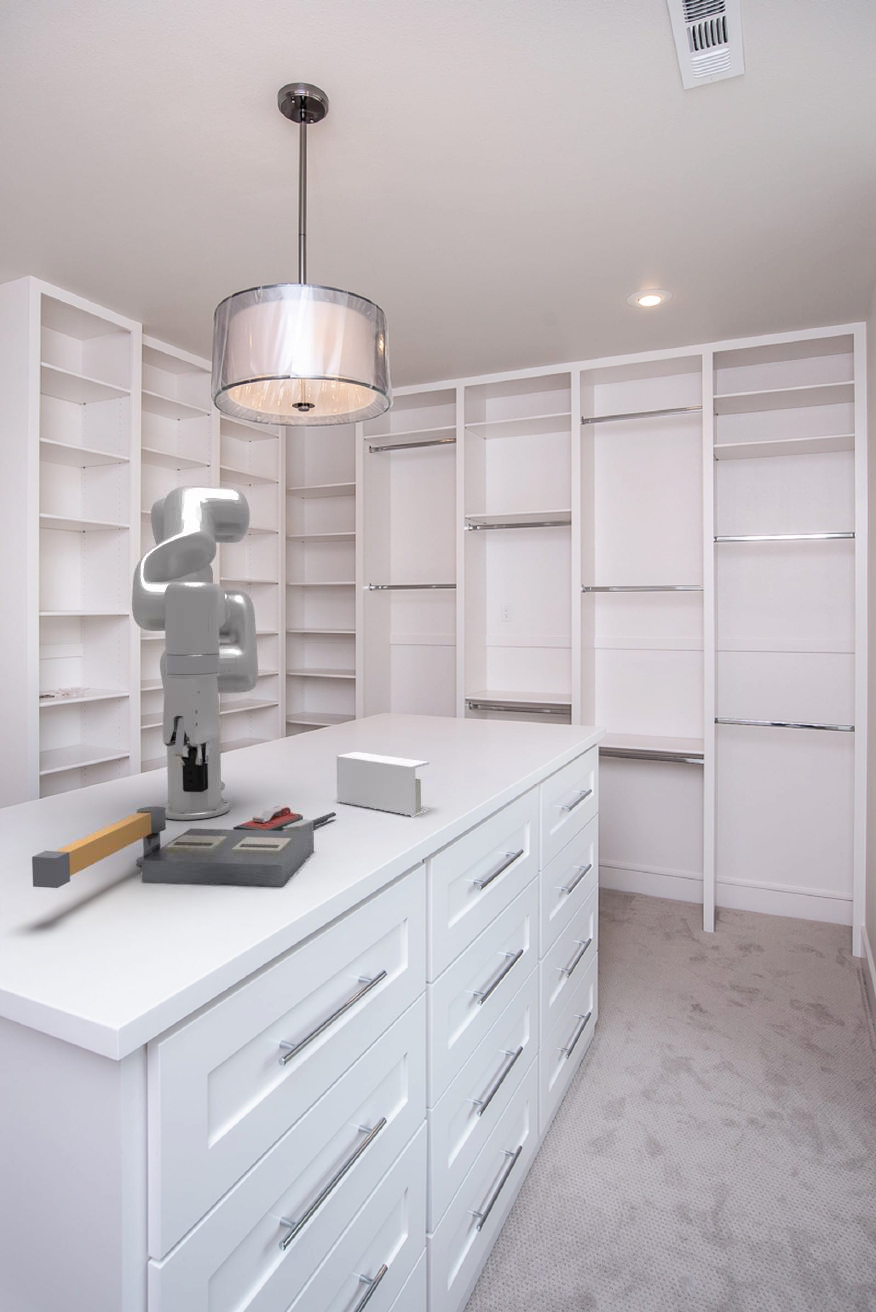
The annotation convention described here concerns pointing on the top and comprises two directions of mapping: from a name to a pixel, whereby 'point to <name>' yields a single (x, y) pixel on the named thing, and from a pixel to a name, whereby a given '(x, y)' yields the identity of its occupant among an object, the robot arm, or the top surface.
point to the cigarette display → (379, 782)
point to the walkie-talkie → (282, 821)
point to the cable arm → (95, 847)
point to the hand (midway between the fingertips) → (195, 790)
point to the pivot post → (149, 846)
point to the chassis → (229, 857)
